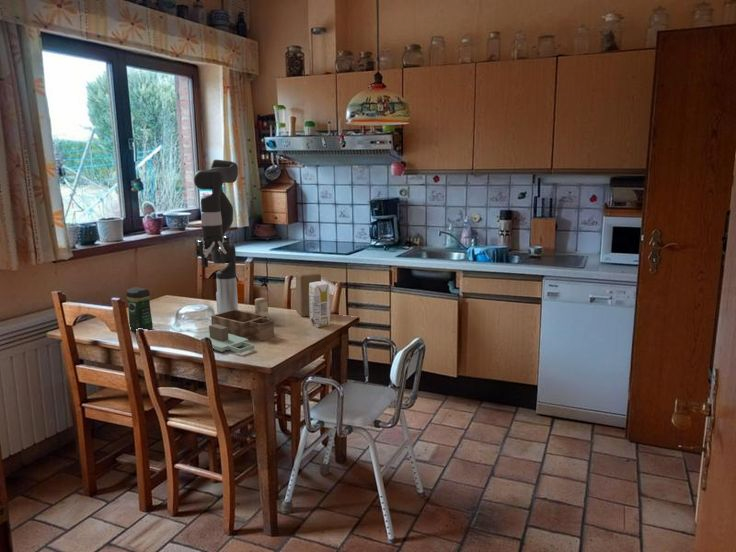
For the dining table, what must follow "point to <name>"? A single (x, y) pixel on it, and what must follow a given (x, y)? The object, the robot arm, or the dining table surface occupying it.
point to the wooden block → (304, 290)
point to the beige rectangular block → (261, 306)
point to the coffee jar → (139, 308)
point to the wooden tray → (245, 324)
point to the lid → (226, 339)
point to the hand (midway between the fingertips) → (214, 265)
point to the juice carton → (319, 304)
